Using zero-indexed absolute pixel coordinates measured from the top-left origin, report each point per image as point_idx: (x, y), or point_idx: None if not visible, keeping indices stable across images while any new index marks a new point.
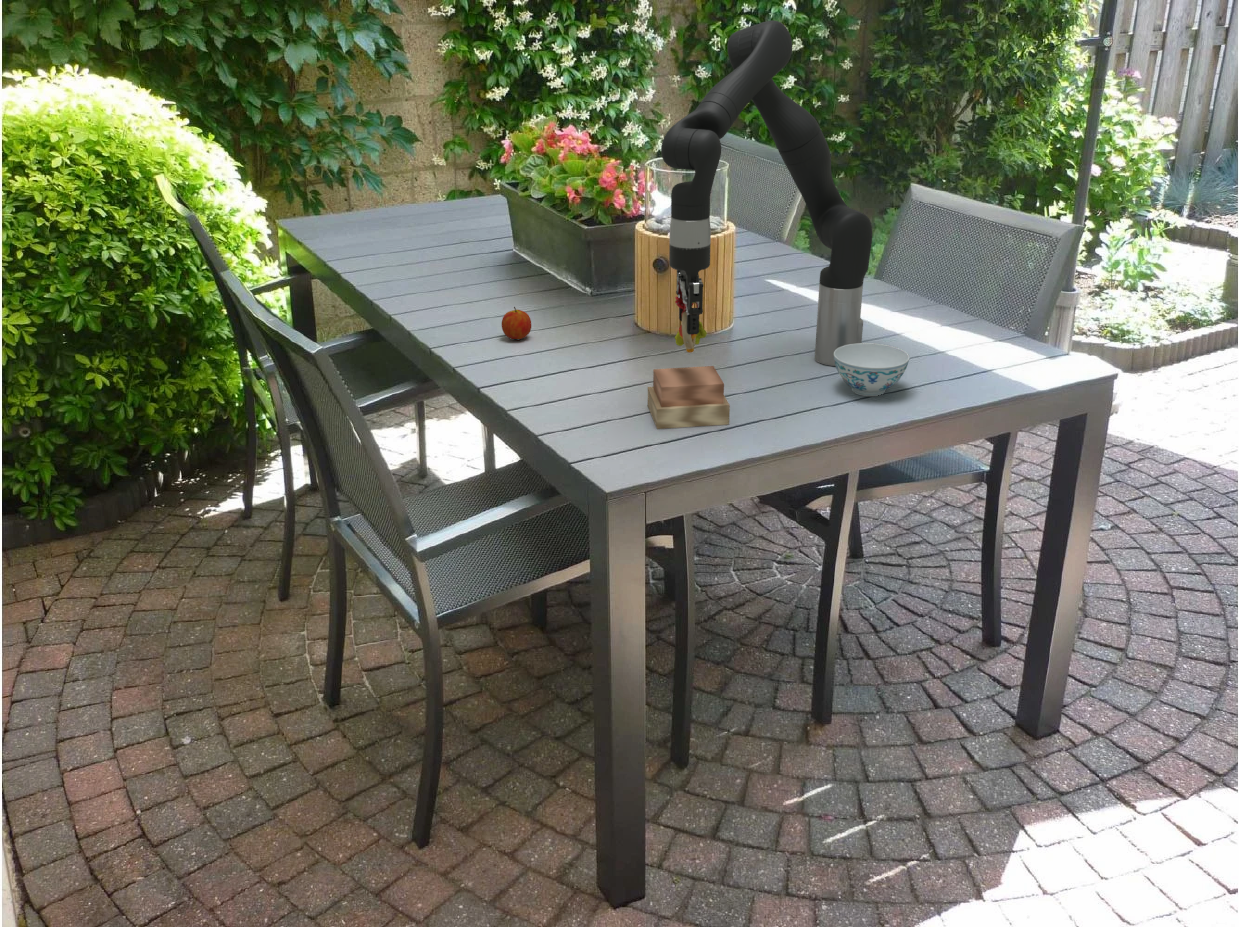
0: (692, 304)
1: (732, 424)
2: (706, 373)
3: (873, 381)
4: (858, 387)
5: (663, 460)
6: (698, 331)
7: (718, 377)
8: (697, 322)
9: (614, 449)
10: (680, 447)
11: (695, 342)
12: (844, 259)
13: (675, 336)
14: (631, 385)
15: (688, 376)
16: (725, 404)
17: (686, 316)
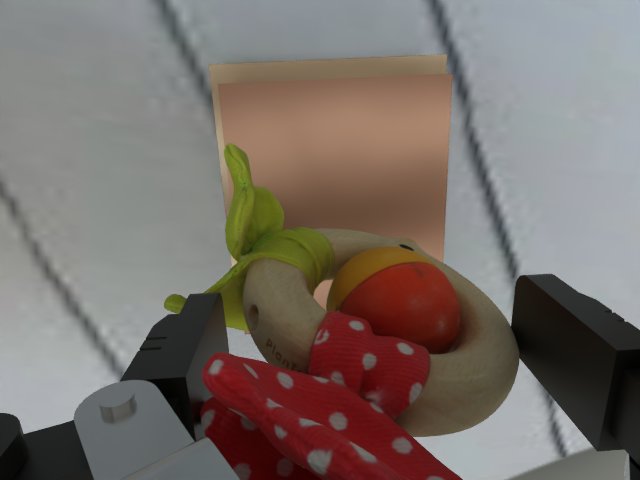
0: (255, 367)
1: (426, 47)
2: (313, 132)
3: None
4: None
5: (615, 279)
6: (552, 278)
7: (371, 85)
8: (636, 331)
9: (519, 381)
10: (552, 229)
11: (283, 214)
12: None
13: (243, 329)
14: (76, 318)
15: (340, 213)
16: (437, 70)
17: (481, 409)
